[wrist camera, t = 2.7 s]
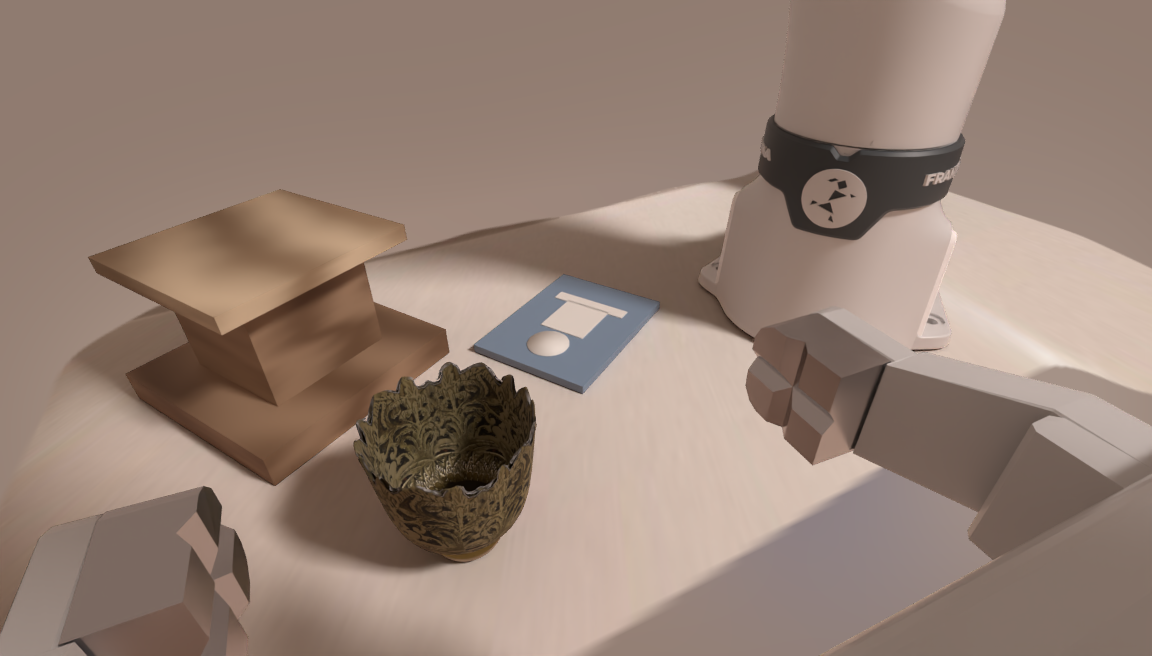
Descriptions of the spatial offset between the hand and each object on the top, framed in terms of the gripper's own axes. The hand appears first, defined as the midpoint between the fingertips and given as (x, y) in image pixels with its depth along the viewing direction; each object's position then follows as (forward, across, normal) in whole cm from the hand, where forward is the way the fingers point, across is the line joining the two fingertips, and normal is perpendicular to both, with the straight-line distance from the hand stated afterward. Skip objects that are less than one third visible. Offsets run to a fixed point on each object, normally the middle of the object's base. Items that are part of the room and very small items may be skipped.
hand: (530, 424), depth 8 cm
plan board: (+27, -12, +18) cm, 34 cm away
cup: (+12, 0, +18) cm, 22 cm away
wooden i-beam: (+29, +7, +18) cm, 35 cm away
